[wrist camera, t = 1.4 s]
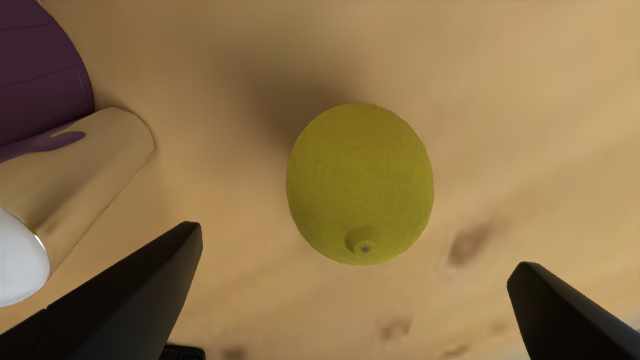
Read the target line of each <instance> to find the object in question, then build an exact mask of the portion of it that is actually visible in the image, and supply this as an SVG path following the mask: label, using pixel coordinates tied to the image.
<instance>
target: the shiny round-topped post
mask: <svg viewBox="0 0 640 360" xmlns="http://www.w3.org/2000/svg"><path fill="white" fill-rule="evenodd" d="M154 149H155V146H154V143H153V139H152V135H151V131H150V129H149V128H148V127H147V126H146V125H145V124H144V123H143V122H142V121H141V120H140V119H139V118H138V117H137V116H136V115H135V114H133V113H130V112H127V111H124V110H121V109H118V108H115V107H109V108H106V109H102V110H99V111H96V112H92V113H90V114H87V115H84V116H82V117H79V118H76V119H74V120H71V121H68V122H66V123H63V124H60V125H58V126H55V127H52V128H50V129H47V130H44V131H42V132H39V133H36V134H34V135H31V136H28V137H26V138H23V139H20V140H18V141H15V142H12V143H10V144H7V145H4V146H0V307H5V306H9V305H12V304H15V303H18V302H20V301H22V300H24V299H26V298H28V297H29V296H31V295H32V294H34V293H35V292H37V291H38V290H39V289H40V288H41V287H42V286H43V285H44V284H45V283H46V282H47V280H48V279H49V278H50V277H51V276H52V274H53V273H54V272H55V271H56V270H57V268H58V267H59V266H60V265H61V263H62V262H63V261H64V260H65V259H66V257H67V256H68V255H69V254H70V252H71V251H72V250H73V249H74V247H75V246H76V245H77V244H78V243H79V241H80V240H81V239H82V238H83V236H84V235H85V234H86V233H87V231H88V230H89V229H90V228H91V226H92V225H93V224H94V223H95V222H96V220H97V219H98V218H99V217H100V216H101V215H102V213H103V212H104V211H105V210H106V209H107V208H108V207H109V206H110V204H111V203H112V202H113V201H114V200H115V199H116V198H117V196H118V195H119V194H120V193H121V192H122V191H123V190H124V188H125V187H126V186H127V185H128V184H129V183H130V182H131V180H132V179H133V178H134V177H135V176H136V175H137V174H138V172H139V171H140V170H141V169H142V168H143V167H144V166H145V164H146V163H147V162H148V160H149V158H150V156H151V155H152V153H153V151H154Z"/></svg>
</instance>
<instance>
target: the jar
mask: <svg viewBox="0 0 640 360" xmlns="http://www.w3.org/2000/svg"><path fill="white" fill-rule="evenodd" d="M92 110H93V96H92V90H91V85H90V81H89V78H88V74H87V71H86V69H85V67H84V64H83V62H82V60H81V58H80V56H79V54H78V52H77V51H76V49H75V47H74V45H73V44H72V42H71V41H70V39H69V38H68V36H67V35H66V34H65V32H64V31H63V30H62V28H61V27H60V26H59V25H58V23H57V22H56V21H55V20H54V19H53V18H52V17H51V16H50V14H49V13H48V12H47V11H46V10H45V9H44V8H43V7H42V6H41V5H40V4H38V3H37V2H36V1H35V0H0V146H4V145H7V144H10V143H12V142H15V141H18V140H20V139H23V138H26V137H28V136H31V135H34V134H36V133H39V132H42V131H44V130H47V129H50V128H52V127H55V126H58V125H60V124H63V123H66V122H68V121H71V120H74V119H76V118H79V117H82V116H84V115H87V114H90V113H92Z"/></svg>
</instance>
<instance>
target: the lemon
mask: <svg viewBox="0 0 640 360" xmlns="http://www.w3.org/2000/svg"><path fill="white" fill-rule="evenodd" d="M286 192H287V197H288V203H289V208H290V212H291V215H292V218H293V220H294V222H295V224H296V226H297V228H298V230H299V232H300V234H301V235H302V236H303V237H304V238H305V239H306V240H307V242H308V243H309V244H310V245H311V246H312V247H313V248H314V249H315V250H317V251H318V252H320V253H321V254H323V255H324V256H326V257H328V258H330V259H333V260H335V261H338V262H340V263H345V264H350V265H372V264H378V263H382V262H385V261H387V260H390V259H393V258H394V257H396V256H398V255H399V254H401V253H403V252H404V251H405V250H407V249H408V248H409V247H410V246H411V245H412V244H413V243H414V242H415V241H416V240H417V239H418V238H419V236H420V234H421V233H422V231H423V230H424V228H425V226H426V225H427V223H428V220H429V216H430V213H431V209H432V205H433V199H434V190H433V172H432V167H431V163H430V161H429V158H428V155H427V152H426V149H425V147H424V145H423V143H422V141H421V140H420V138H419V137H418V136H417V134H416V133H415V132H414V130H413V129H412V128H411V127H410V125H409V124H408V123H407V122H405V121H404V120H402V119H401V118H400V117H398V116H397V115H396V114H394V113H393V112H391V111H389V110H387V109H384V108H382V107H379V106H376V105H373V104H365V103H351V104H343V105H339V106H336V107H334V108H331V109H329V110H326V111H324V112H323V113H322V114H320V115H319V116H318V117H316V118H315V119H313V120H312V121H311V122H310V123H309V124H308V125H307V127H306V128H305V129H304V130H303V131H302V133H301V134H300V135H299V136H298V138H297V140H296V142H295V144H294V147H293V149H292V151H291V154H290V156H289V159H288V166H287V174H286Z"/></svg>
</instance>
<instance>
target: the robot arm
mask: <svg viewBox="0 0 640 360" xmlns="http://www.w3.org/2000/svg"><path fill="white" fill-rule="evenodd" d="M202 249H203V241H202V231H201V225H200V224H199V223H198V222H190V221H184V222H182V223H180V224H179V225H177V226H175V227H174V228H172V229H170V230H169V231H167V232H166V233H164V234H162V235H161V236H159V237H158V238H156V239H154V240H153V241H151V242H150V243H148V244H146V245H145V246H143V247H142V248H140V249H138V250H137V251H135V252H133V253H132V254H130V255H129V256H127V257H125V258H124V259H122V260H121V261H119V262H117V263H116V264H114V265H113V266H111V267H109V268H108V269H106V270H105V271H103V272H101V273H100V274H98V275H96V276H95V277H93V278H92V279H90V280H88V281H87V282H85V283H84V284H82V285H80V286H79V287H77V288H76V289H74V290H72V291H71V292H69V293H68V294H66V295H64V296H63V297H61V298H59V299H58V300H56V301H55V302H53V303H51V304H50V305H48V306H47V308H46V309H42V310H40V311H38V312H37V313H35V314H33V315H32V316H30V317H29V318H27V319H25V320H24V321H22V322H21V323H19V324H17V325H16V326H14V327H12V328H11V329H9V330H7V331H6V332H4V333H2V334H1V335H0V360H206V357H205V352H204V351H202V350H199V349H190V348H181V347H172V346H165V344H166V342H167V339H168V337H169V335H170V333H171V331H172V329H173V327H174V325H175V323H176V321H177V318H178V316H179V314H180V312H181V310H182V307H183V305H184V303H185V300H186V297H187V294H188V291H189V289H190V286H191V283H192V280H193V277H194V274H195V271H196V268H197V265H198V262H199V260H200V257H201V254H202ZM507 290H508V293H509V297H510V300H511V303H512V306H513V310H514V313H515V316H516V319H517V323H518V326H519V329H520V332H521V335H522V338H523V341H524V344H525V347H526V349H527V352H528V354H529V357H530V359H531V360H640V333H638V332H637V331H635V330H634V329H632V328H631V327H630V326H628V325H627V324H625V323H624V322H622V321H621V320H619V319H618V318H617V317H615V316H614V315H612V314H611V313H609V312H608V311H606V310H605V309H603V308H602V307H601V306H599V305H598V304H596V303H595V302H593V301H592V300H590V299H589V298H588V297H586V296H585V295H583V294H582V293H580V292H579V291H577V290H576V289H574V288H573V287H572V286H570V285H569V284H567V283H566V282H564V281H563V280H561V279H560V278H559V277H557V276H556V275H554V274H553V273H551V272H550V271H548V270H547V269H545V268H544V267H543V266H541V265H540V264H538V263H534V262H525V261H523V262H520V263H519V264H518V265H517V267H516V268H515V270H514V271H513V273H512V274H511V276H510V277H509V279H508V281H507Z"/></svg>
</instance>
